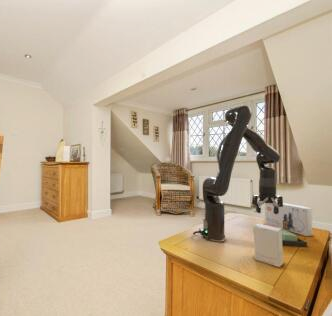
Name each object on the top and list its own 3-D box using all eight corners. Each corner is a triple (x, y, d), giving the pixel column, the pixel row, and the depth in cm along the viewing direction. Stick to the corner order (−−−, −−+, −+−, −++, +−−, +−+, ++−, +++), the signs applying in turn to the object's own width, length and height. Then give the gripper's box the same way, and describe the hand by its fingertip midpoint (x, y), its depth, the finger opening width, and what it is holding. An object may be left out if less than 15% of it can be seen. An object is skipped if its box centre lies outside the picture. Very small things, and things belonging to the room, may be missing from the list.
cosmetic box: (283, 263, 80) (283, 228, 80) (279, 268, 77) (279, 231, 77) (258, 255, 87) (258, 222, 87) (253, 259, 84) (253, 225, 84)
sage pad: (285, 242, 99) (285, 235, 99) (274, 236, 106) (274, 229, 106) (297, 243, 98) (297, 235, 98) (285, 237, 105) (285, 230, 105)
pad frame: (280, 245, 98) (280, 240, 98) (255, 231, 116) (255, 227, 116) (306, 246, 96) (306, 242, 96) (278, 232, 114) (278, 228, 114)
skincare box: (264, 224, 128) (264, 200, 128) (269, 223, 130) (269, 200, 130) (307, 236, 108) (307, 208, 108) (313, 235, 110) (312, 207, 110)
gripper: (276, 185, 114) (276, 212, 114) (249, 184, 117) (249, 211, 117) (286, 186, 107) (286, 216, 107) (257, 185, 109) (257, 214, 109)
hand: (267, 213), depth 112 cm, fingers open, 8 cm apart
